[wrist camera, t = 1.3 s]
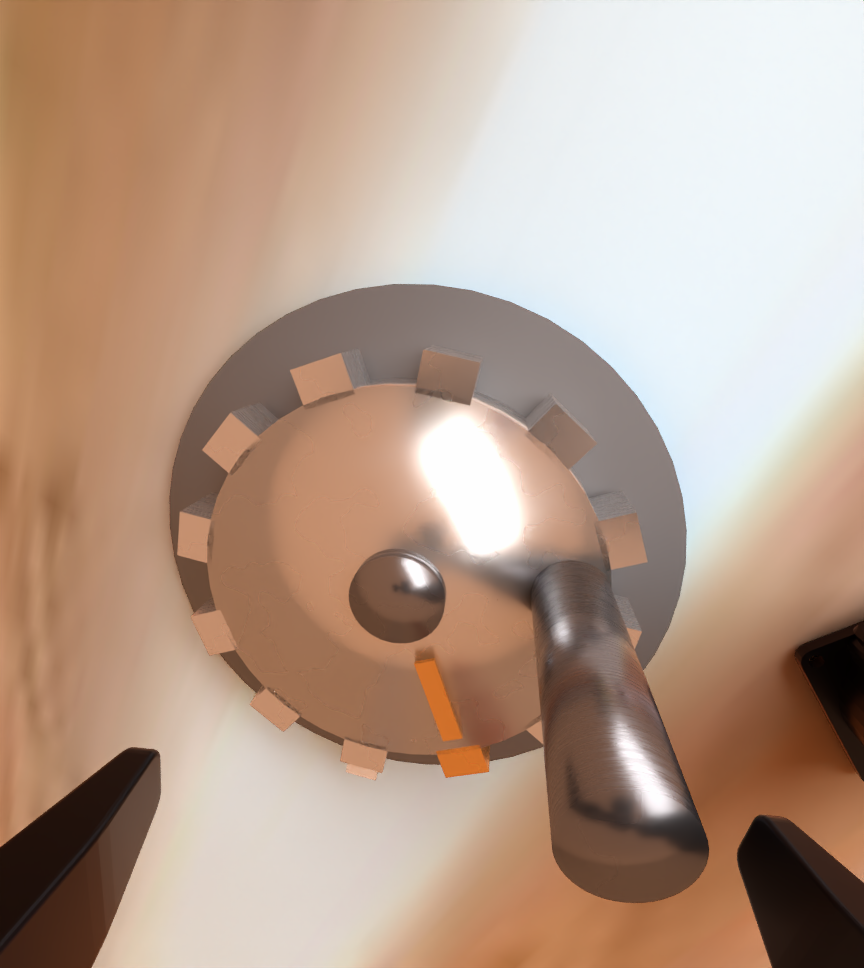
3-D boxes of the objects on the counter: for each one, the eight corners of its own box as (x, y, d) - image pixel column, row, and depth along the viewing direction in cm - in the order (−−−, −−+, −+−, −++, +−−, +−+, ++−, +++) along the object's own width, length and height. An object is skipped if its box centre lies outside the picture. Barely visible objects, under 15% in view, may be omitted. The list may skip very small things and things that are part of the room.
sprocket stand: (769, 641, 19) (803, 684, 17) (358, 803, 24) (343, 852, 22) (504, 154, 15) (504, 127, 13) (89, 466, 20) (39, 484, 18)
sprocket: (707, 640, 18) (931, 1001, 8) (361, 782, 22) (253, 1131, 13) (481, 245, 15) (441, 130, 6) (132, 491, 19) (-228, 662, 10)
